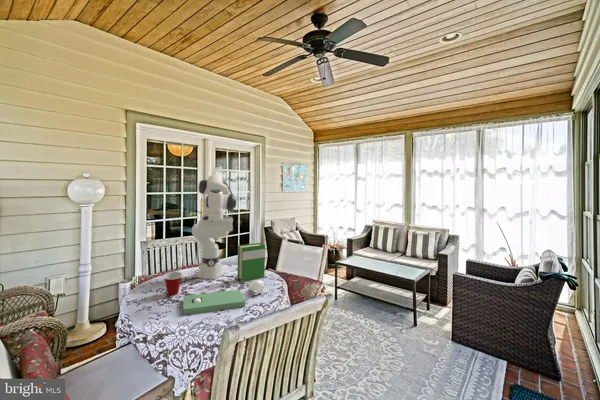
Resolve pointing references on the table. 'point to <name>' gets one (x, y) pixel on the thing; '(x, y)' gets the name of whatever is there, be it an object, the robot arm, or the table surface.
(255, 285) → the white snowman figurine
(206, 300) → the green
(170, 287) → the plastic cup
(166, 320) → the table surface
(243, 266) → the hardback book
